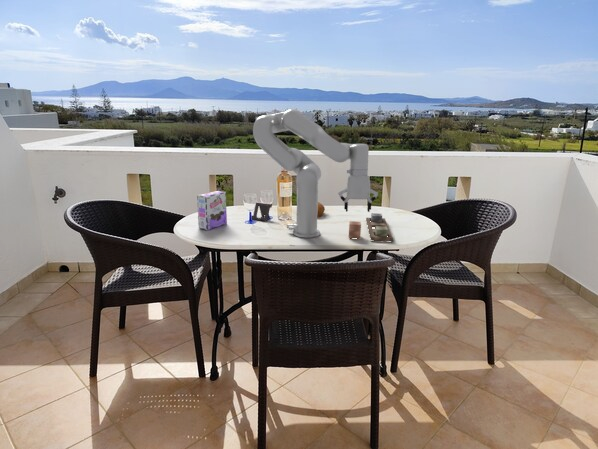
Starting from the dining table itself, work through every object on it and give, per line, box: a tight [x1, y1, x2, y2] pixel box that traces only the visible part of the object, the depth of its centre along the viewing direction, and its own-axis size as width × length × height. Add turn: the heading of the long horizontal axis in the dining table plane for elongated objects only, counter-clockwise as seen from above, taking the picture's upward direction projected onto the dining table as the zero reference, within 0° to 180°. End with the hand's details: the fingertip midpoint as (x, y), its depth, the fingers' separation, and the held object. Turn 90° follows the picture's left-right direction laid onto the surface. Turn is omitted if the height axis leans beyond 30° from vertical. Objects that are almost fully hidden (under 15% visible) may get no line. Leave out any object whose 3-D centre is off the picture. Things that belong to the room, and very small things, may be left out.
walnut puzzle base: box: [365, 212, 394, 242], centre depth 189 cm, size 10×32×5 cm, turn 175°
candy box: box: [196, 190, 228, 231], centre depth 189 cm, size 14×6×16 cm, turn 147°
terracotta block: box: [348, 220, 362, 240], centre depth 178 cm, size 5×5×7 cm
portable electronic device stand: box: [250, 201, 273, 222], centre depth 205 cm, size 9×8×8 cm
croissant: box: [317, 201, 326, 218], centre depth 216 cm, size 14×16×8 cm
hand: (357, 211), depth 175 cm, fingers open, 9 cm apart
